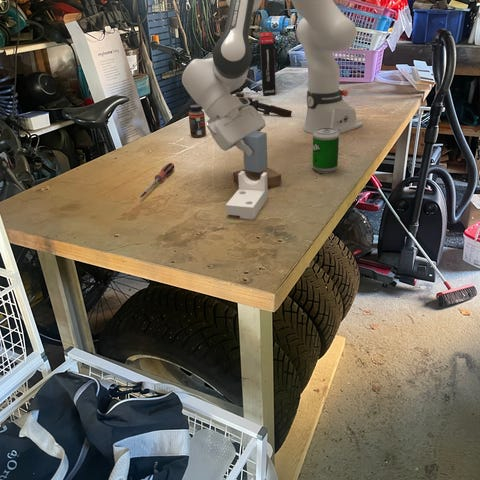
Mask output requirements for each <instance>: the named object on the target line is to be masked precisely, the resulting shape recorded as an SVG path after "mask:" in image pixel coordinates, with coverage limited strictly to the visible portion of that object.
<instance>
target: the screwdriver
mask: <svg viewBox="0 0 480 480" xmlns="http://www.w3.org/2000/svg"><path fill="white" fill-rule="evenodd" d="M174 169H175V164H174V163H172V162H169V163H167V164H165V165H164V166H163V167H162V168H161V170H160V171H159V172H158V174H156V175H155V176H154V181H153V182H152V183H151V184H150V186H148V187H147V188H146V189H145V191H143V193H142V194H141V195H140V196H139V198H143V197H144V196H145V195H146V194H148V193H149V192H150V191H151V189H152V188H153V187H154V186H156V185H157V184H158V183H157V182H161V183H162V182H163V181H164V179H166V178H167V177H168V176H170V175H171V174H172V172H174Z"/></svg>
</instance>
